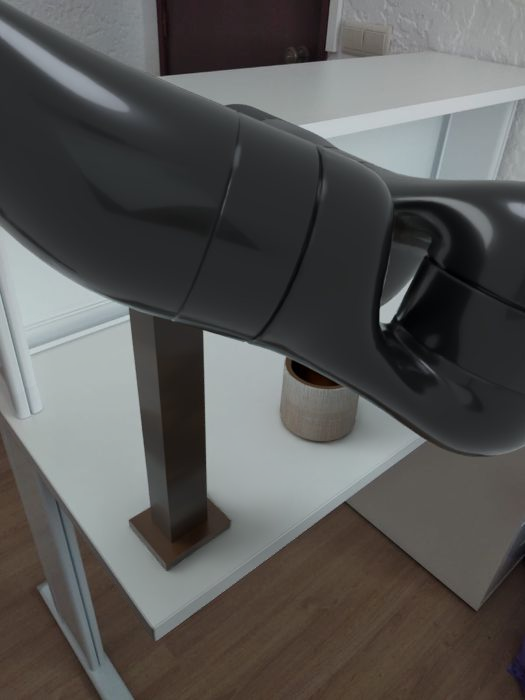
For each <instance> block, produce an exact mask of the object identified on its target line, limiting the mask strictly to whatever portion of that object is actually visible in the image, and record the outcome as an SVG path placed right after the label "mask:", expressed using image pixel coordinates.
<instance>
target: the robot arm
mask: <svg viewBox="0 0 525 700" xmlns="http://www.w3.org/2000/svg"><path fill="white" fill-rule="evenodd" d="M0 227H1V228H2V229H3V230H4V231H5V232H6V233H7V234H8V235H10V236H11V238H13V239H14V240H15V241H17V242H18V244H20V245H21V246H22V247H23V248H24V249H26V250H27V251H28V252H30V253H31V254H32V255H34V256H35V257H36V258H37V259H39V260H40V261H41V262H42V263H44V264H45V265H47V266H49V268H52V269H53V270H55V271H56V272H57V273H58V274H60V275H62V276H63V277H65V278H67V279H68V280H70V281H72V282H73V283H75V284H77V285H79V286H81V287H82V288H84V289H86V290H88V291H89V292H92V293H94V294H96V295H98V296H100V297H102V298H105V299H107V300H108V301H111V302H112V303H116V304H119V305H121V306H124V307H127V308H128V309H129V308H132V309H135V310H137V311H140V312H143V313H147V314H150V315H153V316H157V317H160V318H163V319H167V320H172V321H174V322H177V323H180V324H184V325H187V326H190V327H194V328H197V329H201V330H203V332H206V333H207V332H208V333H211V334H214V335H218V336H222V337H225V338H228V339H232V340H235V341H239V342H242V343H247V344H248V345H251V346H254V347H257V348H258V347H259V348H261V349H266V350H268V351H271V352H273V353H276V354H278V355H281V356H283V357H285V358H286V357H288V358H290V359H292V360H294V361H296V362H299V363H301V364H303V365H305V366H307V367H309V368H310V369H312V370H314V371H316V372H318V373H320V374H322V375H324V376H325V377H327V378H329V379H331V380H333V381H335V382H336V383H338V384H340V385H342V386H343V387H345V388H347V389H349V390H351V391H352V392H354V393H356V394H358V395H359V397H361V398H362V399H364V400H366V401H367V402H368V403H370V404H372V405H373V406H375V407H377V408H378V409H380V410H381V411H382V412H384V413H385V414H387V415H389V416H390V417H391V418H392V419H394V420H395V421H397V422H399V423H400V424H401V425H403V426H404V427H406V428H407V429H409V430H410V431H412V432H413V433H415V434H416V435H417V436H419V437H420V438H422V439H423V440H426V441H427V442H429V443H431V444H433V445H434V446H436V447H437V448H440V449H442V450H445V451H447V452H450V453H452V454H455V455H460V456H463V457H469V458H470V457H471V458H491V457H497V456H503V455H506V454H509V453H513V452H515V451H517V450H520V449H522V448H524V447H525V181H523V180H511V179H445V178H444V179H443V178H430V177H429V178H428V177H420V176H413V175H407V174H403V173H398V172H395V171H392V170H390V169H387V168H385V167H382V166H379V165H377V164H375V163H372V162H370V161H368V160H366V159H363V158H361V157H358V156H356V155H354V154H351V153H349V152H347V151H345V150H342V149H340V148H338V147H337V146H335V145H334V144H333V143H331V142H330V141H329V140H328V139H326V138H324V137H323V136H321V135H319V134H317V133H315V132H313V131H311V130H309V129H307V128H304V127H301V126H299V125H297V124H294V123H292V122H291V121H287V120H285V119H282V118H280V117H278V116H276V115H274V114H271V113H268V112H266V111H263V110H261V109H259V108H256V107H254V106H251V105H248V104H244V103H230V104H221V103H219V102H217V101H214V100H212V99H210V98H206V97H205V96H202V95H199V94H198V93H194V92H192V91H190V90H188V89H185V88H183V87H181V86H179V85H176V84H173V83H171V82H169V81H167V80H165V79H162V78H160V77H158V76H155V75H153V74H151V73H148V72H146V71H144V70H142V69H139V68H137V67H135V66H132V65H130V64H129V63H126V62H123V61H122V60H120V59H117V58H115V57H113V56H111V55H109V54H107V53H105V52H103V51H101V50H99V49H96V48H94V47H93V46H90V45H88V44H86V43H84V42H81V41H80V40H77V39H75V38H73V37H71V36H69V35H67V34H66V33H64V32H62V31H60V30H58V29H57V28H55V27H52V26H51V25H49V24H47V23H46V22H43V21H41V20H40V19H38V18H36V17H34V16H32V15H31V14H29V13H27V12H25V11H23V10H21V9H20V8H17V7H16V6H15V5H13V4H12V3H9V2H7V1H6V0H0ZM407 284H409V285H407ZM406 286H408V287H407V290H406V291H405V294H404V295H403V297H402V299H401V301H400V303H399V306H398V307H397V309H396V312H395V313H394V315H393V316H392V319H391V320H390V322H382V321H381V320H380V319H381V307H383V306H385V305H386V304H388V303H389V302H390V301H392V300H393V299H394V298H395V297H396V296H398V294H399V293H400V292H401V291H403V290H404V288H405V287H406Z"/></svg>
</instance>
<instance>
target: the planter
mask: <svg viewBox="0 0 525 700" xmlns="http://www.w3.org/2000/svg"><path fill="white" fill-rule="evenodd" d="M284 358H285V359H284V362H283V374H282V382H281V383H282V384H281V385H282V386H281V394H280V404H279V414H280V415H279V416H280V419H281V422H282V424H283V425H284V426H285V427H286V429H287V430H289V431H290V432H291V433H292V434H294V435H296V436H298V437H300V438H303V439H305V440H308V441H315V442H330V441H331V442H332V441H335V440H338V439H341V438H343V437H344V436H346V435H348V434H349V433H350V432H351V431H352V430H353V427H354V425H355V423H356V419H357V413H358V408H359V401H360V396H359V395H358V394H356V393H354V392H352V391H351V390H349V389H347V388H345V387H343V386H342V385H340V384H338V383H336V382H335V381H333V380H331V379H329V378H327V377H325V376H324V375H322V374H320V373H318V372H316V371H314V370H312V369H310V368H309V367H307V366H305V365H303V364H301V363H299V362H296V361H294V360H292V359H290V358H288V357H286V356H285V357H284Z"/></svg>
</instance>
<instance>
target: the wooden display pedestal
mask: <svg viewBox="0 0 525 700" xmlns="http://www.w3.org/2000/svg"><path fill="white" fill-rule="evenodd" d="M128 316H129V322H130V323H129V324H130V325H129V326H130V333H131V341H132V342H131V343H132V350H133V359H134V361H133V362H134V369H135V378H136V379H135V380H136V388H137V396H138V397H137V398H138V406H139V415H140V423H141V433H142V442H143V443H142V444H143V450H144V451H143V452H144V460H145V469H146V478H147V487H148V496H149V505H150V506H149V507H148V508H146V509H145V510H143V511H141V512H139V513H138V514H136V515H134V516H132V517H131V518H129V519H128V526H129V528H130V529H131V530H132V532H133V533H134V534H135V535H136V537H138V539H139V540H140V541H141V542H142V544H143V545H144V546H145V547H146V548H147V549H148V551H149V552H150V554H152V556H153V557H154V558H155V559H156V560H157V562H158V563H159V564H160V566H162V567H163V569H164V570H165V571H166V572H167V571H169V570H170V569H171V568H174V567H175V566H176V565H178V564H180V562H182V561H183V560H185V559H187V558H188V557H189V556H190V555H192V554H194V553H195V552H197V550H200V549H201V548H202V547H204V546H205V545H207V544H208V543H209V542H211V541H212V540H214V539H216V538H217V537H218V536H220V535H221V534H223V533H224V532H226V531H227V530H229V529H230V528H231V527H232V520H231V518H229V517H228V516H227V514H225V513H224V512H223V510H222V509H220V507H218V506H217V505H216V504H215V502H213V500H211V499H210V498H209V496H208V474H207V473H208V471H207V470H208V469H207V433H206V432H207V430H206V429H207V428H206V427H207V426H206V395H205V394H206V390H205V388H206V384H205V383H206V382H205V347H204V345H205V343H204V341H205V340H204V338H205V337H204V330H201V329H197V328H194V327H190V326H187V325H184V324H180V323H177V322H174V321H172V320H167V319H163V318H160V317H157V316H153V315H150V314H147V313H143V312H140V311H137V310H135V309H132V308H129V307H128Z"/></svg>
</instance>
